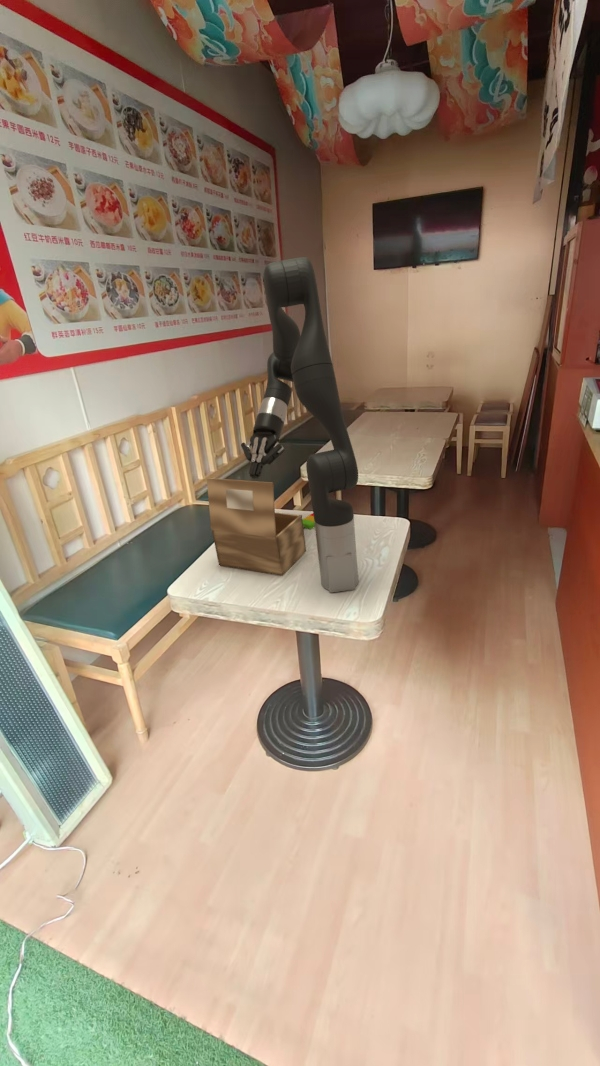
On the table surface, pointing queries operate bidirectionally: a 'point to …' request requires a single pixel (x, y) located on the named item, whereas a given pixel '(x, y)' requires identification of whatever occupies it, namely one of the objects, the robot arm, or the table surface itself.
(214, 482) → the flap
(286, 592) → the table surface
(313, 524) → the popsicle
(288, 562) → the brown wooden box
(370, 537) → the table surface
